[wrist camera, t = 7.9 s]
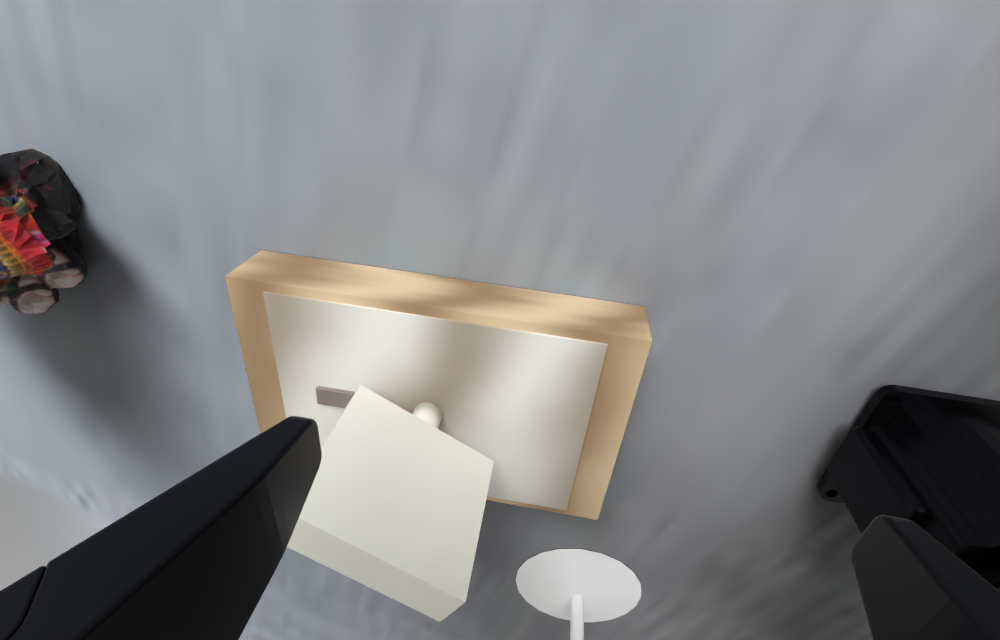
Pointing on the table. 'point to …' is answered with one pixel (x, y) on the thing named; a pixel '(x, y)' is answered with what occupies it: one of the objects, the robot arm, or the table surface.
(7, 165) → the figurine
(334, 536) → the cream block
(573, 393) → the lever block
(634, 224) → the table surface
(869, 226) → the table surface
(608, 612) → the wineglass
